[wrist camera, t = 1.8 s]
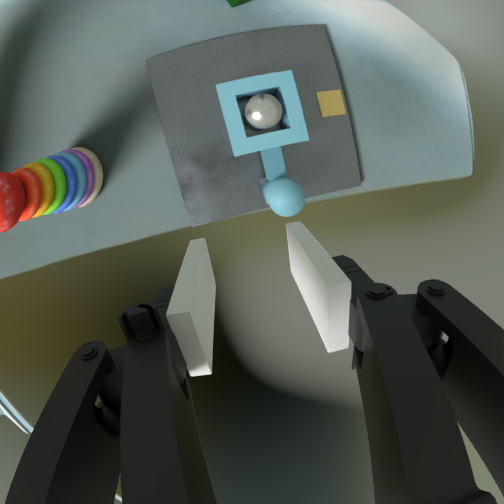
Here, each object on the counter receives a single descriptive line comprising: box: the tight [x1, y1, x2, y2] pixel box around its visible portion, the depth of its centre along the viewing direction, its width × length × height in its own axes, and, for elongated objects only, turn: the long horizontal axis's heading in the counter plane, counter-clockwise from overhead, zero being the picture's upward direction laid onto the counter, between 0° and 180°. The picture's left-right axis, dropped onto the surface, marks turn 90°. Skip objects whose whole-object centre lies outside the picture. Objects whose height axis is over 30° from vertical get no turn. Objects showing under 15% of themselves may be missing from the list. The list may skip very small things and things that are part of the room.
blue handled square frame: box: [216, 70, 309, 217], centre depth 28 cm, size 8×15×6 cm, turn 14°
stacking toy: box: [0, 147, 103, 232], centre depth 22 cm, size 8×8×19 cm
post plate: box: [146, 25, 361, 227], centre depth 28 cm, size 22×22×6 cm
